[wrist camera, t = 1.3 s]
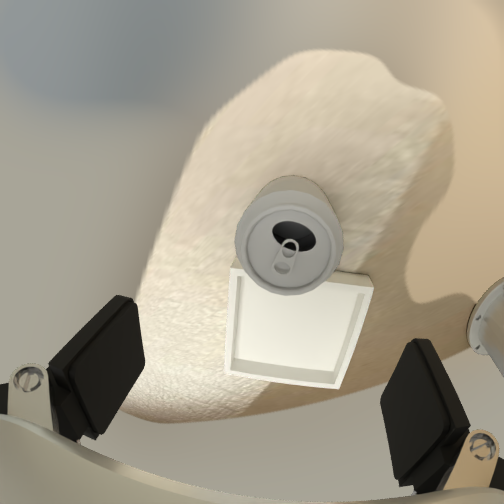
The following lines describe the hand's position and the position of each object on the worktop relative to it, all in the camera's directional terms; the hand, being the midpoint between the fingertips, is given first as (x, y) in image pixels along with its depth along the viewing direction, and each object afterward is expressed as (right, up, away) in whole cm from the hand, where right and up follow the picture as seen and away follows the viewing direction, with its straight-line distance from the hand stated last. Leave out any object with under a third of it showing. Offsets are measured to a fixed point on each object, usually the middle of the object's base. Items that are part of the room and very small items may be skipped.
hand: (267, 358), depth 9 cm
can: (+4, +8, +21) cm, 22 cm away
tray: (+4, -5, +25) cm, 26 cm away
